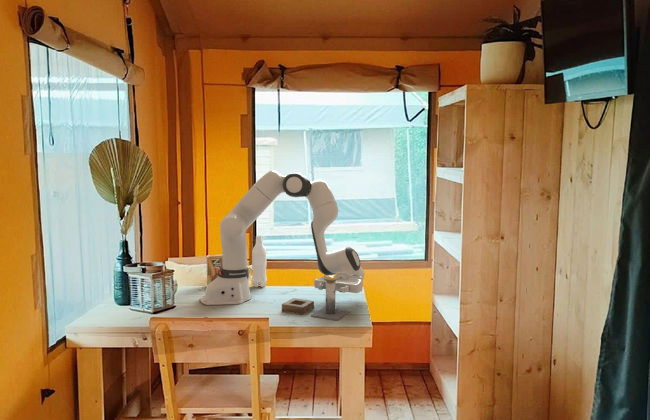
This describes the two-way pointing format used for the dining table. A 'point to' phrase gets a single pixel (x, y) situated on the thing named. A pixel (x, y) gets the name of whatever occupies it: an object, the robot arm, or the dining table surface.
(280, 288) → the dining table surface
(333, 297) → the steel peg
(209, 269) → the candy box
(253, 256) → the water bottle
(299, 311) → the socket block
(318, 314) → the rubber mat
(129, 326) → the dining table surface
